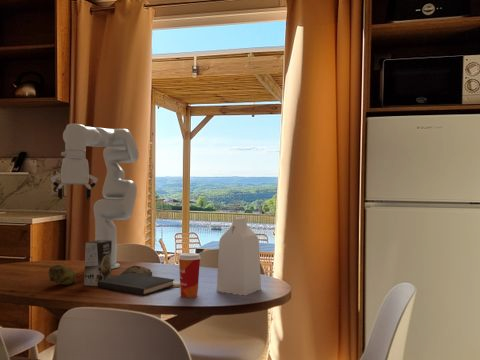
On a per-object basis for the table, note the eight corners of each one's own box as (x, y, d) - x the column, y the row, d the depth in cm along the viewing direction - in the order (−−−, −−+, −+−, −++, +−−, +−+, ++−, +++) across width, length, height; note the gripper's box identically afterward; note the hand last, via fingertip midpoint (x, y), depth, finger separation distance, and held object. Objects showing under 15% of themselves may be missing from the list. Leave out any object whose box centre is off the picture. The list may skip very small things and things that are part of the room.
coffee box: (99, 286, 156) (100, 242, 157) (83, 285, 157) (84, 242, 158) (111, 281, 165) (112, 240, 166) (96, 280, 166) (97, 239, 167)
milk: (244, 295, 144) (244, 219, 145) (216, 291, 150) (217, 218, 151) (261, 289, 154) (261, 217, 155) (234, 285, 160) (235, 216, 161)
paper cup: (178, 293, 147) (178, 252, 147) (200, 292, 147) (201, 252, 148) (176, 298, 139) (177, 256, 139) (200, 298, 140) (200, 256, 140)
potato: (84, 282, 162) (85, 261, 162) (56, 289, 151) (57, 267, 151) (69, 280, 166) (69, 260, 166) (40, 286, 154) (41, 264, 155)
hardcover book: (129, 278, 168) (129, 272, 168) (174, 285, 156) (174, 279, 156) (97, 287, 154) (97, 281, 154) (143, 295, 142) (143, 289, 142)
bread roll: (156, 275, 178) (156, 264, 179) (141, 281, 166) (141, 269, 167) (129, 274, 182) (129, 262, 182) (113, 279, 170) (113, 267, 170)
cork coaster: (166, 282, 163) (166, 281, 163) (187, 283, 163) (187, 281, 163) (163, 287, 155) (163, 286, 155) (184, 287, 155) (184, 286, 155)
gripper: (51, 153, 158) (50, 199, 158) (99, 156, 166) (98, 199, 165) (51, 155, 165) (49, 199, 164) (97, 157, 172) (96, 199, 172)
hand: (74, 199), depth 165 cm, fingers open, 9 cm apart
